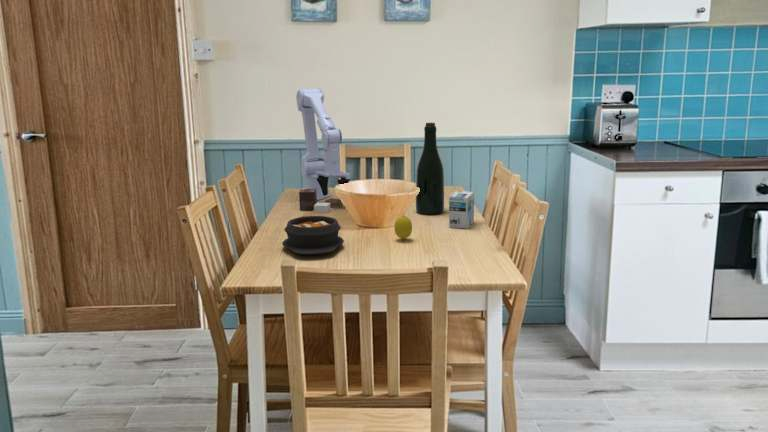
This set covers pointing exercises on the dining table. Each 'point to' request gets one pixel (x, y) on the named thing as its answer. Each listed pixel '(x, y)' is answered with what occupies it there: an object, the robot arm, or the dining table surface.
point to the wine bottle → (430, 176)
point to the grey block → (322, 207)
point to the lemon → (403, 227)
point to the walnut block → (334, 203)
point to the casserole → (312, 235)
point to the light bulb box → (461, 209)
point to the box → (307, 199)
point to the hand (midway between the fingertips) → (333, 196)
